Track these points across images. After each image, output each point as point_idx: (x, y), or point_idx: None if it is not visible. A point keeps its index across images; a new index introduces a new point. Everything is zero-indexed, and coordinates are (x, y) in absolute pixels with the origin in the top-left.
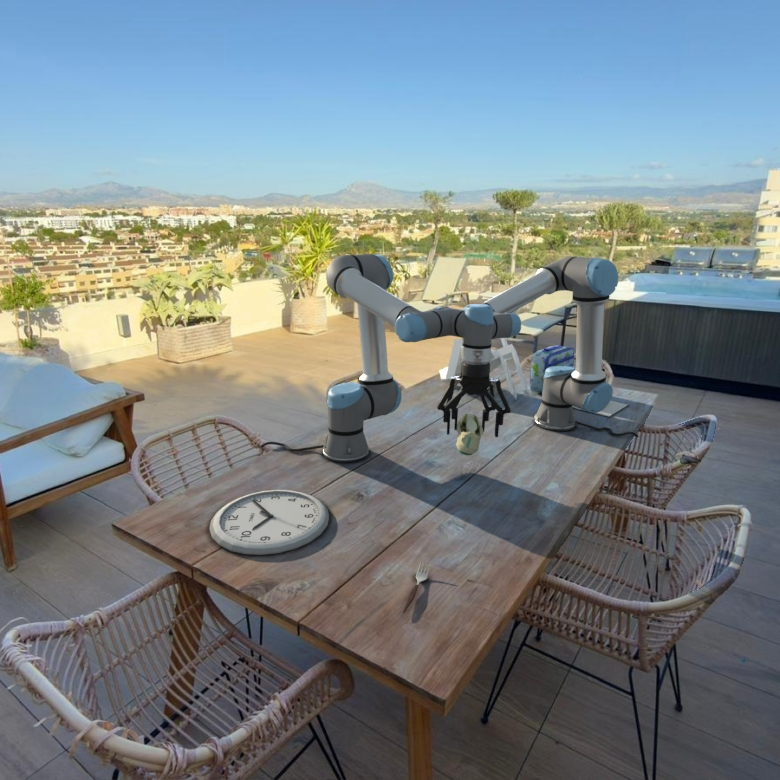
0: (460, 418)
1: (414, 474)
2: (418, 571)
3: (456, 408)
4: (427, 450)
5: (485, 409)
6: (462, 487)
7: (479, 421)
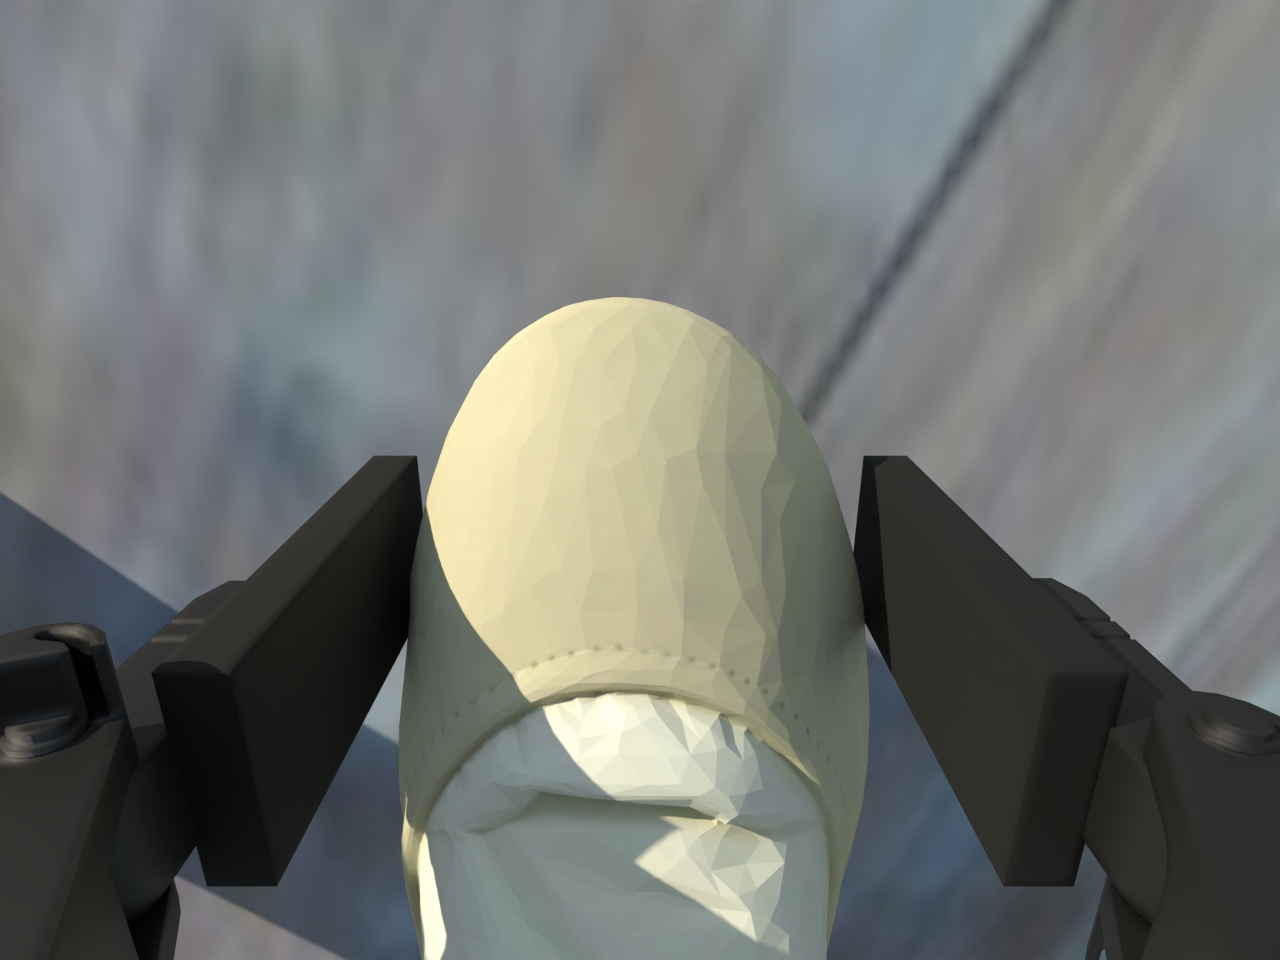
0: (422, 805)
1: None
2: None
3: (193, 713)
4: (181, 93)
5: (1115, 951)
6: None
7: (835, 838)
